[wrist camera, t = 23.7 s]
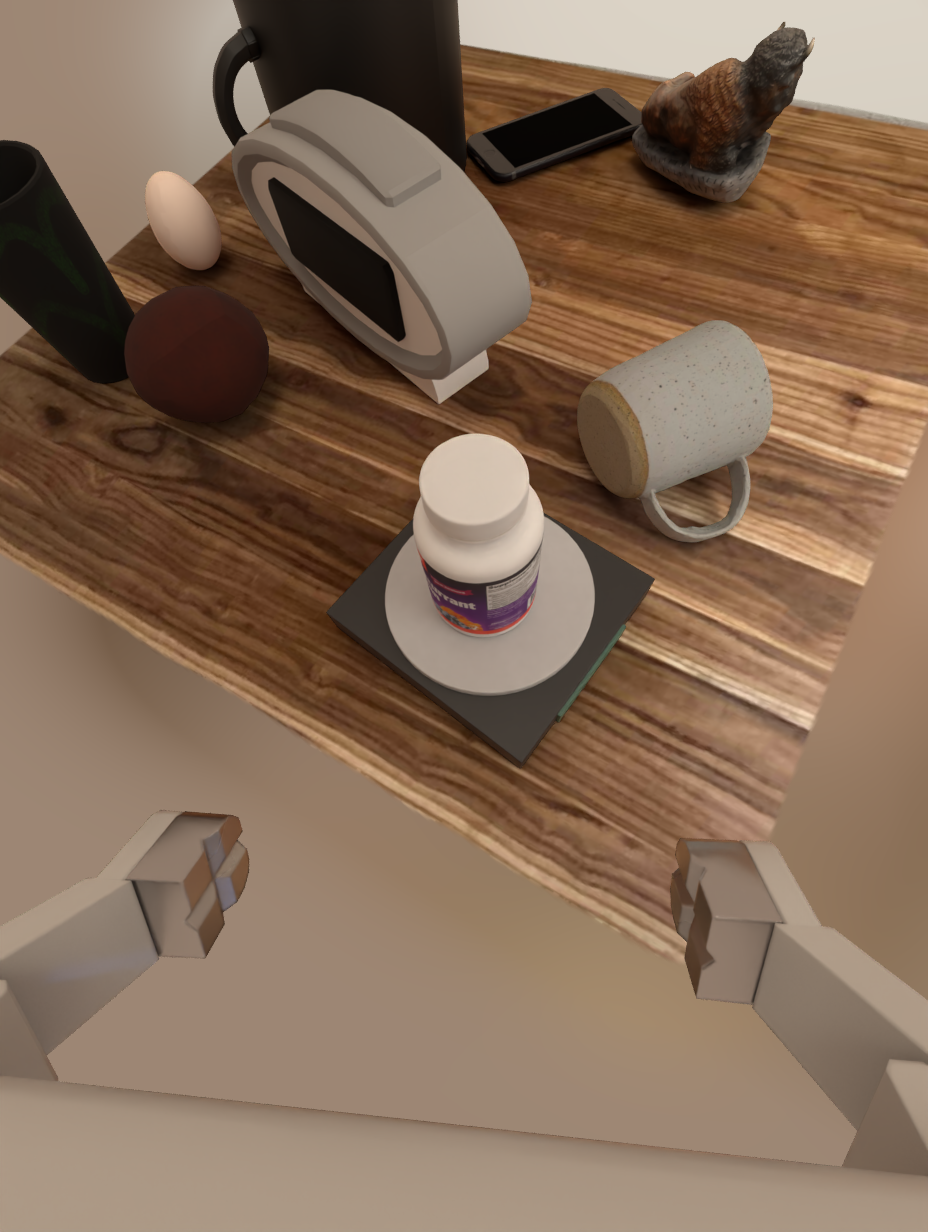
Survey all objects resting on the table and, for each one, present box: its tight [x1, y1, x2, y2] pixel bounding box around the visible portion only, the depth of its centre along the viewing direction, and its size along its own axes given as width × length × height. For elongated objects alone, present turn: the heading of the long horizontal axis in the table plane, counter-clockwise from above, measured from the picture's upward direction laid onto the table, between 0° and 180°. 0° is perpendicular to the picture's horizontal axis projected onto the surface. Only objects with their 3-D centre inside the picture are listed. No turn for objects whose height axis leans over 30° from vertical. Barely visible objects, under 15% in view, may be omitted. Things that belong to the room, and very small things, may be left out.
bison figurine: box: [632, 22, 815, 203], centre depth 40 cm, size 12×7×10 cm, turn 35°
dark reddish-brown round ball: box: [124, 286, 269, 423], centre depth 35 cm, size 8×9×8 cm
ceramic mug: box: [577, 320, 773, 542], centre depth 30 cm, size 11×8×8 cm
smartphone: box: [466, 88, 642, 182], centre depth 48 cm, size 7×15×1 cm, turn 115°
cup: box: [0, 140, 135, 383], centre depth 36 cm, size 8×8×12 cm
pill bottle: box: [413, 434, 544, 637], centre depth 24 cm, size 5×5×10 cm
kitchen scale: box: [326, 513, 655, 769], centre depth 30 cm, size 13×12×3 cm
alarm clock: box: [232, 90, 532, 404], centre depth 35 cm, size 23×6×13 cm, turn 41°
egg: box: [145, 171, 222, 270], centre depth 42 cm, size 5×5×7 cm
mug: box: [213, 0, 467, 172], centre depth 41 cm, size 15×20×15 cm
